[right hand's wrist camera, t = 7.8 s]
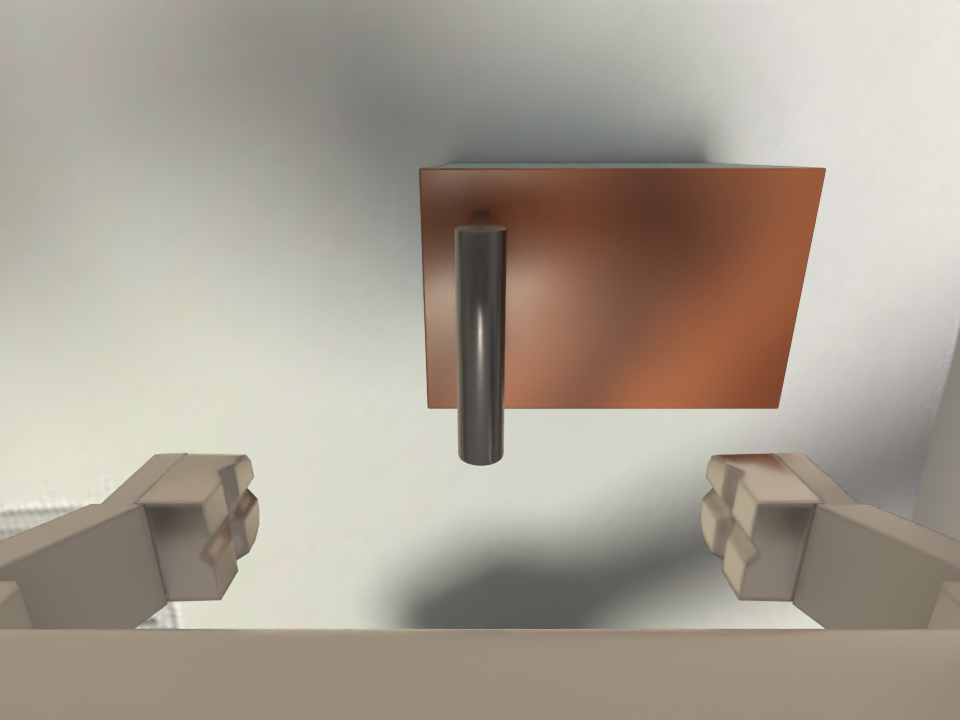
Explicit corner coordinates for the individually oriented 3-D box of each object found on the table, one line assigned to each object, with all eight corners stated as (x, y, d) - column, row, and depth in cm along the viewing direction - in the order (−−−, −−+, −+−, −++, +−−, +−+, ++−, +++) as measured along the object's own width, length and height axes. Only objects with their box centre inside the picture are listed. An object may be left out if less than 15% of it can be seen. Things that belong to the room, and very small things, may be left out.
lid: (429, 399, 26) (407, 504, 18) (421, 167, 22) (389, 174, 15) (767, 399, 26) (890, 505, 18) (811, 167, 22) (987, 174, 14)
